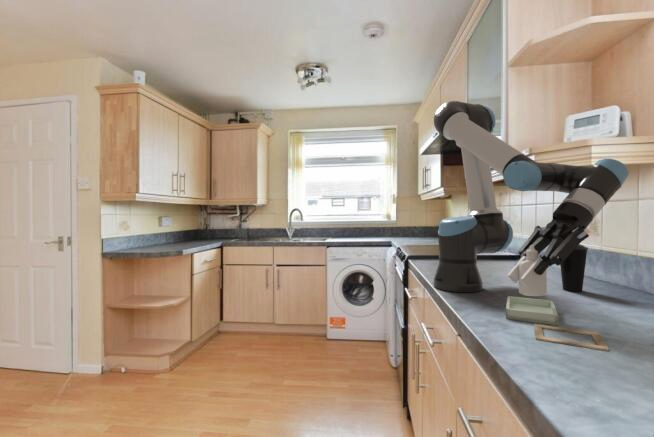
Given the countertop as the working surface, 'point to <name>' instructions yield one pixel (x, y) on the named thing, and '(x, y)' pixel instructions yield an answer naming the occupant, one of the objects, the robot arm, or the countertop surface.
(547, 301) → the tray
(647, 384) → the countertop surface
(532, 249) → the eye dropper bottle
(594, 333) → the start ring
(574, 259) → the drinking cup
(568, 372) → the countertop surface
